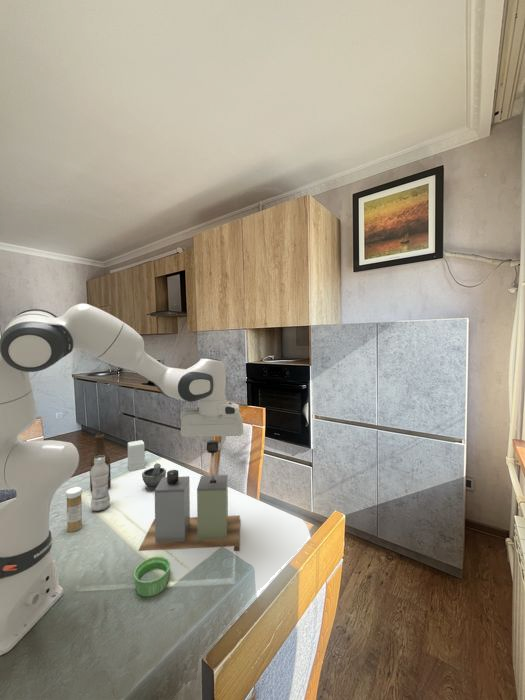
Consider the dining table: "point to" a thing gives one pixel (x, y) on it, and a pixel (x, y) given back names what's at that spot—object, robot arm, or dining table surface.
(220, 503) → the olive slotted block
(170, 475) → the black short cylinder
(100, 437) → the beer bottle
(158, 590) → the ramekin
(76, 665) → the dining table surface
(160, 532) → the grey block
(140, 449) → the supplement box
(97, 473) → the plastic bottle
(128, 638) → the dining table surface
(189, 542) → the walnut board
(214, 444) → the black plunger knob
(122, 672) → the dining table surface
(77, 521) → the sprinkles bottle
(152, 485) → the mortar and pestle
